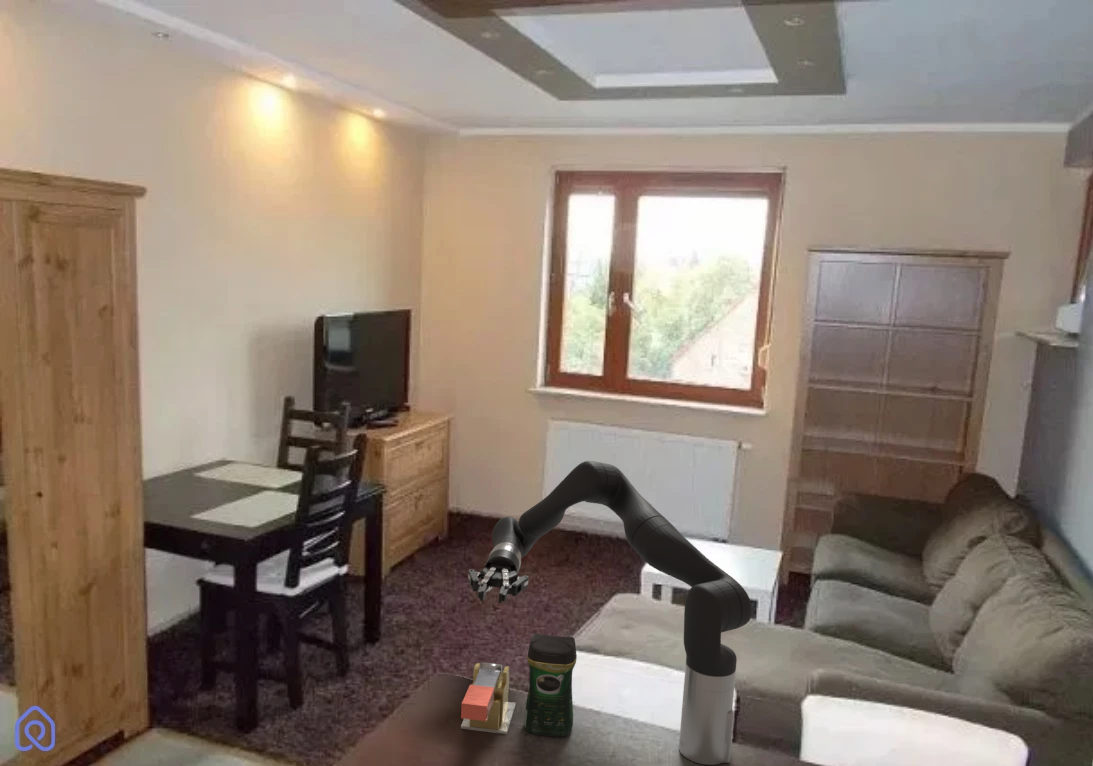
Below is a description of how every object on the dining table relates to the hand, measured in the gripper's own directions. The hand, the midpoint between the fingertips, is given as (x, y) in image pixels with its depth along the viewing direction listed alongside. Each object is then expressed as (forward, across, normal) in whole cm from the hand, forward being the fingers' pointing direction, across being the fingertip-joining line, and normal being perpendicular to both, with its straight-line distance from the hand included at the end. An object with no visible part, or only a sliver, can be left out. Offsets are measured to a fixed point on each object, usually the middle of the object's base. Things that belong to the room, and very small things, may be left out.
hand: (491, 597), depth 169 cm
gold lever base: (+11, +3, +20) cm, 23 cm away
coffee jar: (+12, +14, +20) cm, 28 cm away
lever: (+9, +2, +10) cm, 14 cm away
